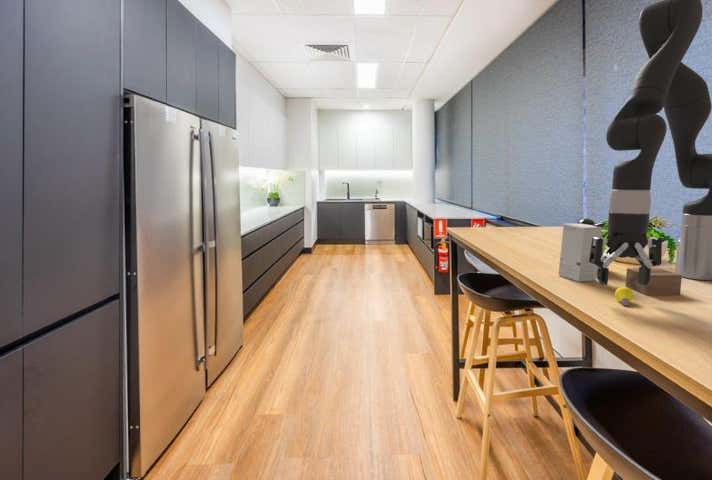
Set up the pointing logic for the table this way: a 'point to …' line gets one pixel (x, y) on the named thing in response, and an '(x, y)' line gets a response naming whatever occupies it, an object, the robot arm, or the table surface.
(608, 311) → the table surface
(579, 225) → the skincare box
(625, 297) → the light bulb
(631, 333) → the table surface
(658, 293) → the walnut block
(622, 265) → the table surface
